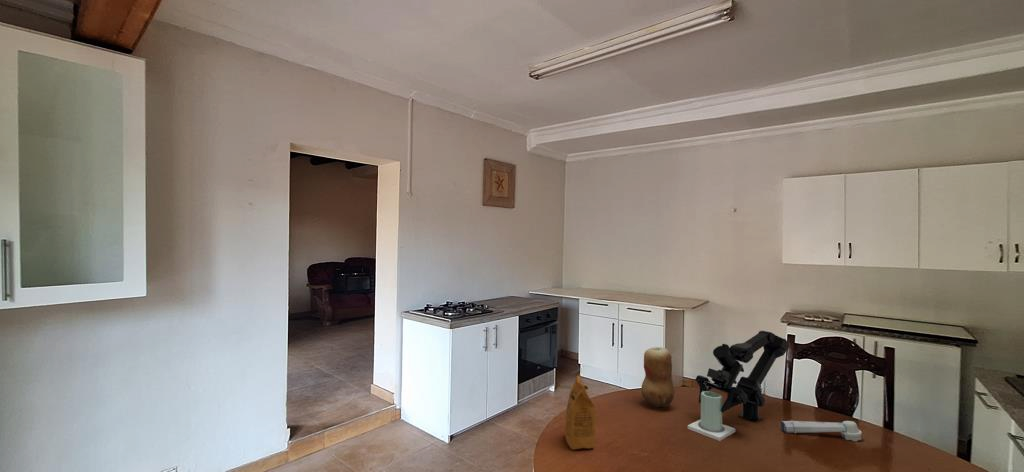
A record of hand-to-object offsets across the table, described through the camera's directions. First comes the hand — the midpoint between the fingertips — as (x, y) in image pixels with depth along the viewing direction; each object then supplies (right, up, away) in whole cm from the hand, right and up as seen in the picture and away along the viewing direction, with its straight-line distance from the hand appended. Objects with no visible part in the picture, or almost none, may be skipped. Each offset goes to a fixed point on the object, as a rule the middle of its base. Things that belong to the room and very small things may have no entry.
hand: (710, 407), depth 154 cm
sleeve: (+1, -7, 0) cm, 7 cm away
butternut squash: (-12, -9, +22) cm, 27 cm away
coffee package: (-51, -8, -10) cm, 52 cm away
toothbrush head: (+39, -10, -3) cm, 41 cm away
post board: (0, -9, 0) cm, 9 cm away
